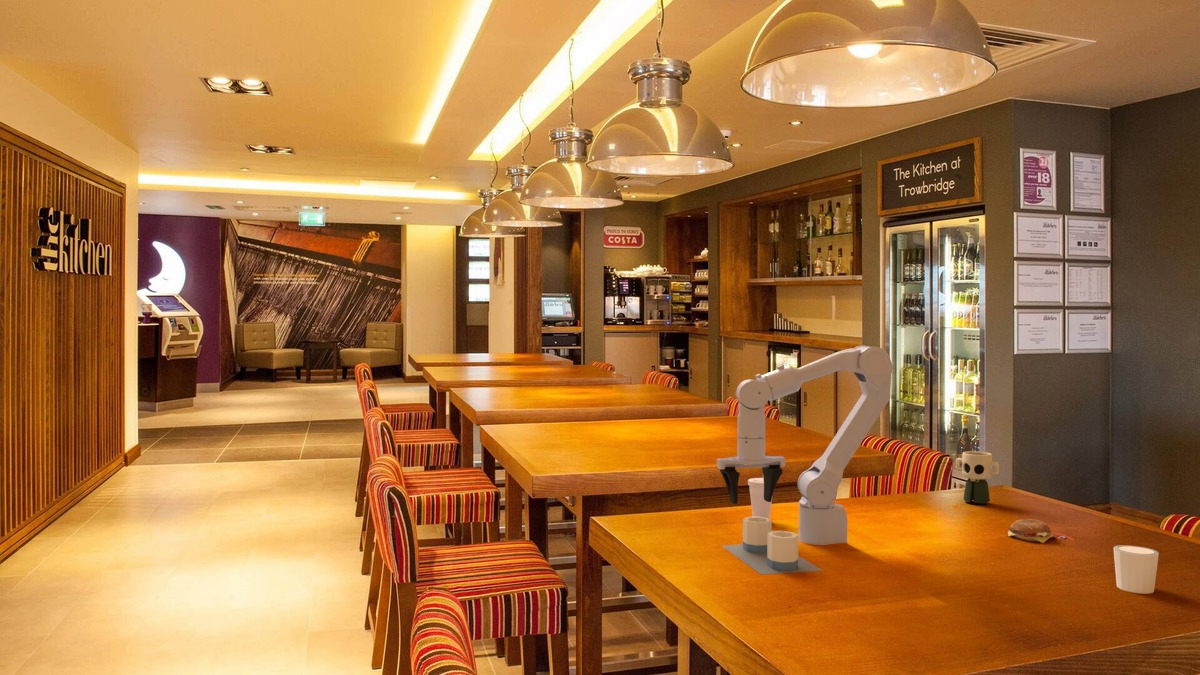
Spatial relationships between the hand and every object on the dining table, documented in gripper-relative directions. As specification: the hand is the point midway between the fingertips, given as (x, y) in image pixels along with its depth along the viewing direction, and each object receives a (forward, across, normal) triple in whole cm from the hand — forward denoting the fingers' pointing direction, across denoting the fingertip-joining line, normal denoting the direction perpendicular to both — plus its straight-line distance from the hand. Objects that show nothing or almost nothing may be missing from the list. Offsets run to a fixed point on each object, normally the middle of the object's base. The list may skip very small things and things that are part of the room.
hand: (750, 502), depth 180 cm
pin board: (+9, +2, +13) cm, 16 cm away
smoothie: (+10, -12, -20) cm, 25 cm away
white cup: (+10, -56, +42) cm, 70 cm away
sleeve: (+8, +2, +7) cm, 11 cm away
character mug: (+10, -75, -26) cm, 80 cm away
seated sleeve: (+8, +2, +19) cm, 21 cm away
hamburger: (+10, -65, +7) cm, 66 cm away
